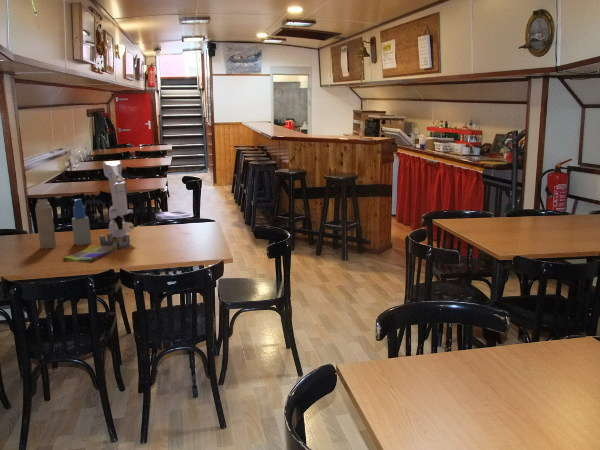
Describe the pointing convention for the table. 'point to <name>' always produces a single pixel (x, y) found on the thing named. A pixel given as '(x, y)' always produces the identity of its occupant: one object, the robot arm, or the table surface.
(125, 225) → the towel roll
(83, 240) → the spray bottle
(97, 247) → the dish towel
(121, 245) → the roll holder
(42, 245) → the thermos bottle
